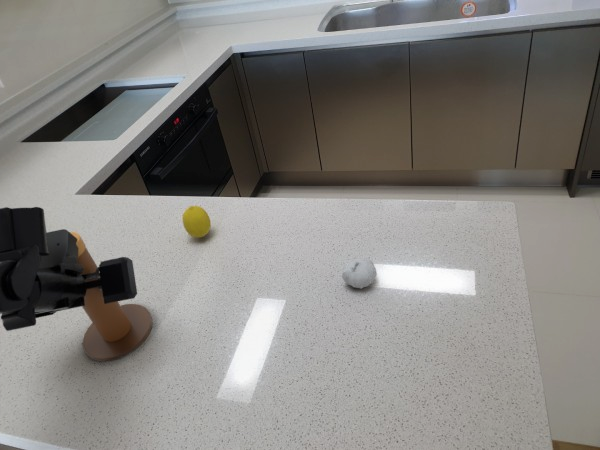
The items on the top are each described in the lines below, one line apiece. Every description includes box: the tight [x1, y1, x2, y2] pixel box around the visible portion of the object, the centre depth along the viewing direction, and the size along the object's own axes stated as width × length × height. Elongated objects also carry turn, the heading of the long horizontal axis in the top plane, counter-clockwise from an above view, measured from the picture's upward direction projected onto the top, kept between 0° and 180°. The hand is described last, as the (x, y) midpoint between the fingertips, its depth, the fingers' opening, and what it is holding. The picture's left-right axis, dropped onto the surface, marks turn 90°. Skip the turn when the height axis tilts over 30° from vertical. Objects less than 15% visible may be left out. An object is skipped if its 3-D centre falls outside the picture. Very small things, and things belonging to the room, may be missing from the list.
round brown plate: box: [82, 303, 153, 362], centre depth 81 cm, size 12×12×1 cm
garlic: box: [341, 257, 378, 289], centre depth 79 cm, size 6×5×5 cm
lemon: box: [182, 205, 212, 238], centre depth 97 cm, size 6×6×8 cm
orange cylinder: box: [69, 231, 131, 342], centre depth 74 cm, size 5×5×20 cm
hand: (97, 289), depth 76 cm, fingers open, 7 cm apart
